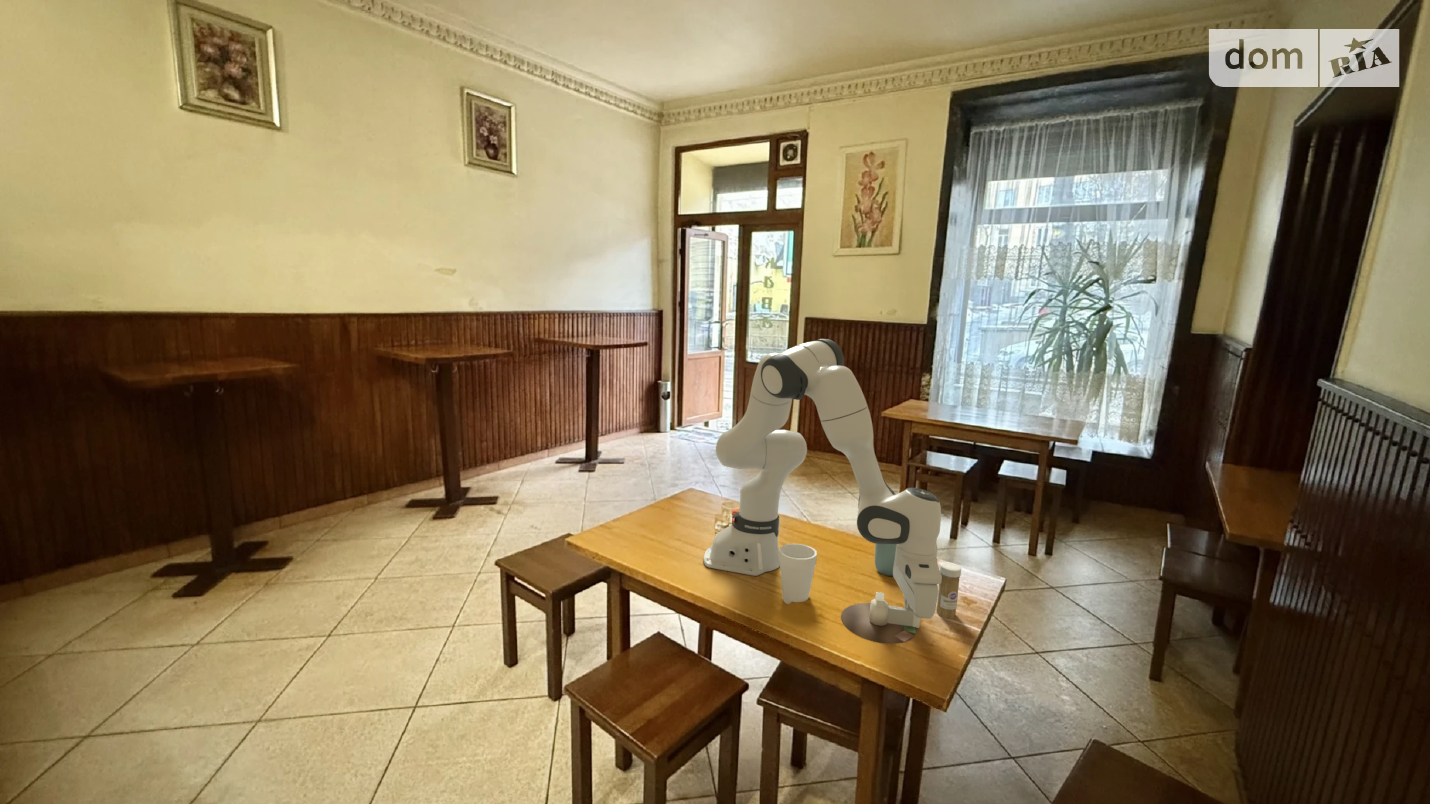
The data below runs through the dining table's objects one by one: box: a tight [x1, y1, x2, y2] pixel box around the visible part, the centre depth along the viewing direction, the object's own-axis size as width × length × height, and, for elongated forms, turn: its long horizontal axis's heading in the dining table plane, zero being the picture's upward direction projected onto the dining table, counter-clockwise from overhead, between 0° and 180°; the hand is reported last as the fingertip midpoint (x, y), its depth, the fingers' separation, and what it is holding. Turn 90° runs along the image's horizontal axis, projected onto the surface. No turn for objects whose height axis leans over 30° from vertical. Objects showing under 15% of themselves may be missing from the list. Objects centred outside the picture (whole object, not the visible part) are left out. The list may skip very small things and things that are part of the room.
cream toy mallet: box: [869, 591, 921, 628], centre depth 129 cm, size 11×4×6 cm, turn 77°
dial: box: [840, 602, 918, 645], centre depth 131 cm, size 17×17×1 cm
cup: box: [874, 543, 896, 577], centre depth 157 cm, size 8×8×10 cm
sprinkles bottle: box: [936, 561, 962, 619], centre depth 134 cm, size 5×5×13 cm
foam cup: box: [779, 543, 818, 605], centre depth 141 cm, size 10×9×13 cm
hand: (908, 615), depth 130 cm, fingers closed, pressing on cream toy mallet
